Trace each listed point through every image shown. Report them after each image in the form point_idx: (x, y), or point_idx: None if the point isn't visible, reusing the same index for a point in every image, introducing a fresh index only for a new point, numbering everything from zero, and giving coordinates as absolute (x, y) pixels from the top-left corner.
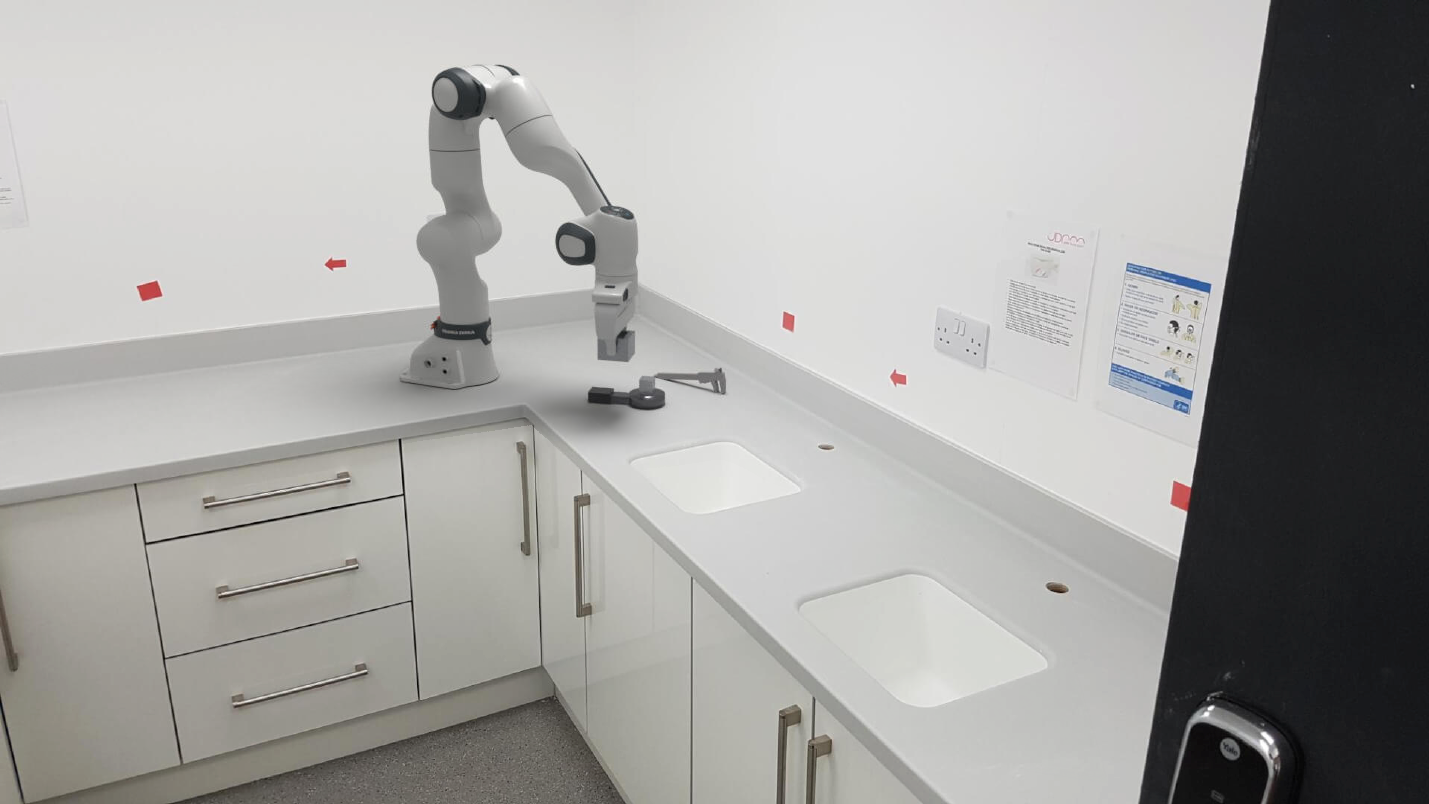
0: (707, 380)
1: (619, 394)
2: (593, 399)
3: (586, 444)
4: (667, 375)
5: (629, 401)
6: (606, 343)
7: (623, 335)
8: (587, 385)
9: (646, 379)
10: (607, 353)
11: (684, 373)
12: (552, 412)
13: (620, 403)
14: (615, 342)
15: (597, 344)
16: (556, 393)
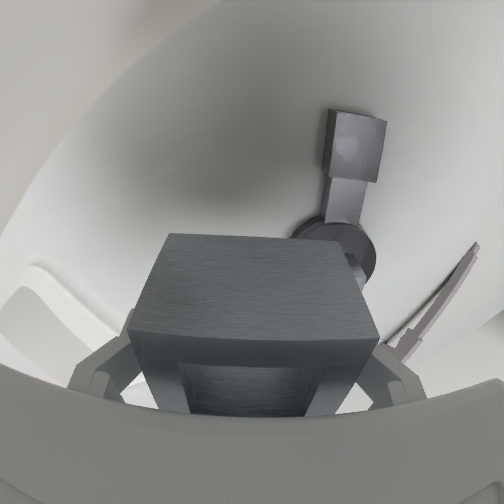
0: (399, 346)
1: (344, 197)
2: (329, 125)
3: (56, 178)
4: (459, 274)
5: (319, 220)
6: (93, 356)
7: (303, 394)
8: (446, 104)
9: None
10: (130, 312)
11: (441, 310)
12: (229, 30)
13: (323, 194)
14: (117, 389)
15: (143, 288)
16: (385, 26)
